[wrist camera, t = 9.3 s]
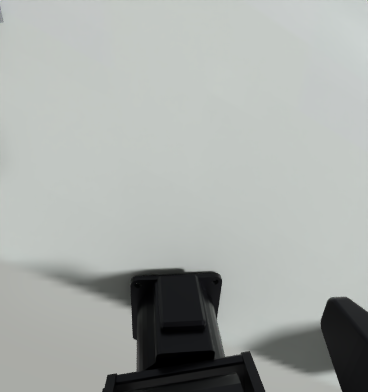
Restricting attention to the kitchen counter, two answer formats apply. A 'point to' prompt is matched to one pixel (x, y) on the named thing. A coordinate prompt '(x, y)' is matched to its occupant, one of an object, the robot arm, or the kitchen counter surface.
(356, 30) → the kitchen counter surface
